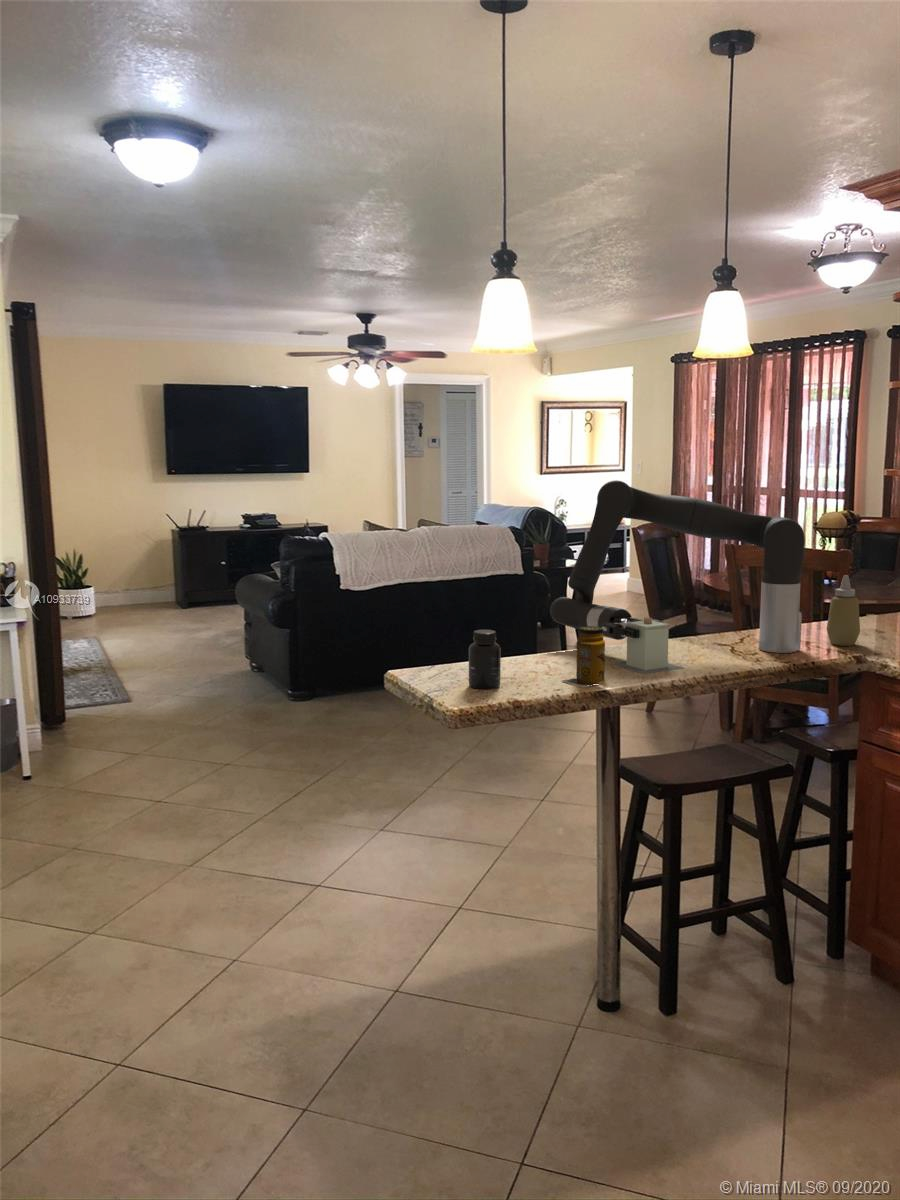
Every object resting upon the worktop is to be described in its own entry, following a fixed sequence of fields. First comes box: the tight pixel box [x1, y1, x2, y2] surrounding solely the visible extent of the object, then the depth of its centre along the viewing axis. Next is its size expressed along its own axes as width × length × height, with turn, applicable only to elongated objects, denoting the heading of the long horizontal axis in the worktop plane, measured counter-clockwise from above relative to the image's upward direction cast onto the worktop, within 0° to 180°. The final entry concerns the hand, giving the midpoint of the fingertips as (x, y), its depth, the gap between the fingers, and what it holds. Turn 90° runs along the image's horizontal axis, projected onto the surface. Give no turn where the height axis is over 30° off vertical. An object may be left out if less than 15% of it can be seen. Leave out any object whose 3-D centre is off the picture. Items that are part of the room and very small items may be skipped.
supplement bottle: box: [468, 629, 502, 691], centre depth 193 cm, size 7×7×12 cm
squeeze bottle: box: [826, 574, 861, 647], centre depth 233 cm, size 8×8×18 cm
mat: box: [611, 661, 684, 675], centre depth 209 cm, size 12×12×1 cm
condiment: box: [561, 626, 606, 688], centre depth 195 cm, size 7×8×12 cm
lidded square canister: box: [626, 617, 670, 670], centre depth 208 cm, size 7×7×11 cm
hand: (653, 632), depth 206 cm, fingers open, 8 cm apart
